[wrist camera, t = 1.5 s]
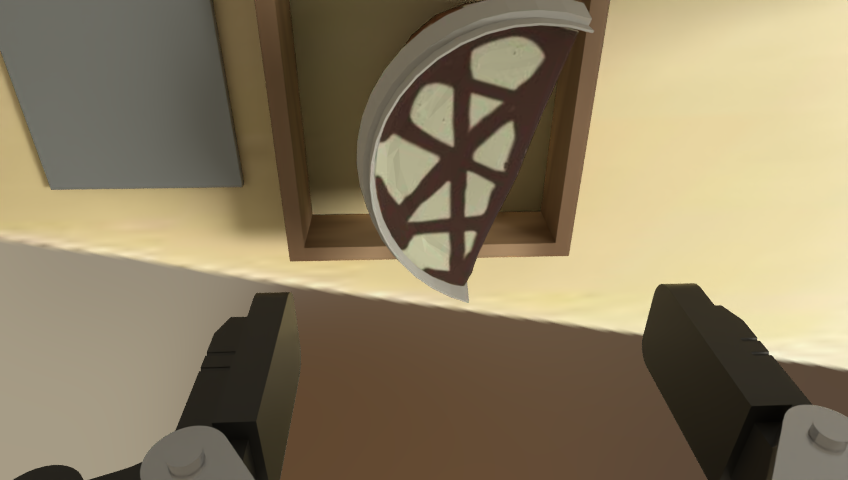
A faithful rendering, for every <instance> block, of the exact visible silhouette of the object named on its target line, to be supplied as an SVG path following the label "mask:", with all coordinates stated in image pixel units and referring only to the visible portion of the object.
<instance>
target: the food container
mask: <svg viewBox="0 0 848 480" xmlns="http://www.w3.org/2000/svg"><path fill="white" fill-rule="evenodd" d="M591 20H592V18H591V16H590V14H589V12H588V10H587V8H586V6H585V4H584V3H582V2H578V1H574V0H485V1H481V2H476V3H465V4H462V5H460V6H457V7H455V8H452V9H450V10H447V11H445V12H442V13H440V14H437V15H435V16H434V17H433V18H432V19H430V20H429V21H428V22H427V23H426V24H424V25H423V26H422V27H421V28H420V29H418V30H417V31H416V32H415V33H414V34H413V35H411V37H410V38H409V40H408V42H407V43H406V45H405V46H404V47H403V48H402V49H401V50H400V51H399V53H398V54H397V55H396V56H395V58H394V59H393V60H392V61H391V62H390V64H389V65H388V66H387V67H386V69H385V70H384V71H383V73H382V75H381V77H380V78H379V80H378V82H377V83H376V85H375V87H374V89H373V90H372V92H371V94H370V97H369V99H368V102H367V105H366V107H365V110H364V113H363V115H362V119H361V124H360V129H359V134H358V139H357V170H358V177H359V183H360V188H361V191H362V194H363V197H364V200H365V203H366V206H367V209H368V212H369V214H370V217H371V220H372V222H373V224H374V226H375V228H376V230H377V232H378V234H379V236H380V237H381V239H382V241H383V242H384V244H385V245H386V246H387V248H388V249H389V250H390V252H391V253H392V254H393V256H394V257H395V258H396V259H397V260H398V261H399V262H400V263H401V264H402V265H403V266H405V267H406V268H407V269H408V270H409V271H410V272H411V273H412V274H413V275H414V276H415V277H416V278H418V279H419V280H421V281H422V282H424V283H425V284H427V285H428V286H430V287H431V288H433V289H435V290H437V291H439V292H441V293H443V294H445V295H447V296H449V297H451V298H454V299H458V300H461V301H464V302H467V303H469V297H468V287H467V280H468V278H469V276H470V275H471V273H472V271H473V267H474V264H475V261H476V259H477V256H478V254H479V252H480V250H481V248H482V245H483V243H484V241H485V239H486V237H487V235H488V233H489V231H490V228H491V226H492V224H493V222H494V220H495V218H496V216H497V214H498V212H499V210H500V208H501V207H502V205H503V203H504V201H505V199H506V197H507V195H508V193H509V191H510V189H511V187H512V185H513V183H514V182H515V180H516V178H517V175H518V173H519V170H520V168H521V165H522V163H523V160H524V158H525V155H526V153H527V150H528V147H529V145H530V142H531V140H532V138H533V135H534V133H535V130H536V128H537V125H538V123H539V121H540V118H541V116H542V113H543V111H544V109H545V106H546V104H547V102H548V100H549V98H550V95H551V93H552V91H553V89H554V86H555V84H556V82H557V80H558V77H559V75H560V73H561V71H562V69H563V66H564V64H565V62H566V60H567V57H568V55H569V53H570V51H571V48H572V46H573V44H574V42H575V40H576V37H577V35H578V33H579V31H577V30H575V29H578V30H582V31H586V32H590V33H593V32H594V30H593V29H592V28H591V27H590V26H589V24H590V22H591Z"/></svg>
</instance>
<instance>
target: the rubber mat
mask: <svg viewBox="0 0 848 480" xmlns="http://www.w3.org/2000/svg"><path fill="white" fill-rule="evenodd" d="M0 51H1V54H2V56H3V59H4V62H5V65H6V67H7V70H8V73H9V76H10V78H11V81H12V84H13V87H14V89H15V92H16V95H17V98H18V100H19V103H20V106H21V109H22V111H23V114H24V117H25V120H26V122H27V125H28V128H29V130H30V133H31V136H32V139H33V141H34V144H35V147H36V150H37V152H38V155H39V158H40V161H41V163H42V166H43V169H44V172H45V174H46V177H47V180H48V183H49V185H50V188H51V190H64V189H135V188H206V187H243V185H244V181H243V175H242V170H241V164H240V158H239V152H238V146H237V140H236V135H235V129H234V123H233V117H232V111H231V105H230V100H229V94H228V88H227V82H226V76H225V70H224V65H223V59H222V53H221V47H220V41H219V35H218V30H217V24H216V18H215V12H214V6H213V0H0Z"/></svg>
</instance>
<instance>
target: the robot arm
mask: <svg viewBox="0 0 848 480" xmlns="http://www.w3.org/2000/svg"><path fill="white" fill-rule="evenodd" d="M642 352H643V358H644V361H645V364H646V366H647V368H648V370H649V372H650V374H651V375H652V377H653V379H654V381H655V383H656V385H657V387H658V389H659V390H660V392H661V394H662V396H663V398H664V399H665V401H666V403H667V405H668V407H669V409H670V411H671V412H672V414H673V416H674V418H675V420H676V422H677V424H678V425H679V427H680V429H681V431H682V433H683V435H684V437H685V438H686V440H687V442H688V444H689V446H690V448H691V450H692V451H693V453H694V455H695V457H696V459H697V461H698V463H699V464H700V466H701V468H702V470H703V472H704V474H705V475H706V477H707V479H708V480H848V417H846V416H844V415H842V414H840V413H838V412H836V411H833V410H831V409H827V408H824V407H820V406H815V405H812V404H811V402H810V401H809V400H808V399H807V397H806V396H805V395H804V394H803V393H802V391H800V389H799V388H798V387H797V385H796V384H795V383H794V382H793V381H792V379H791V378H790V377H789V376H788V374H787V373H786V372H785V371H784V370H783V368H782V367H781V366H780V365H779V363H778V362H777V361H776V360H775V359H774V357H773V356H772V355H769V351H768V350H767V349H766V348H765V346H764V345H763V344H762V343H761V342H760V341H757V337H756V336H755V334H754V333H753V332H752V331H751V329H750V328H749V327H748V326H747V325H746V323H745V322H744V321H743V320H742V319H740V318H739V317H737V316H736V315H734V314H733V313H732V312H730V311H729V310H727V309H726V308H724V307H723V306H721V305H719V306H715V305H714V304H713V303H712V302H711V300H710V299H709V298H708V296H707V295H706V294H705V293H704V291H703V290H702V289H701V288H700V287H699V286H698V285H697V284H695V283H690V284H661V285H659V286H658V287H657V288H656V290H655V293H654V296H653V300H652V304H651V308H650V312H649V315H648V319H647V323H646V327H645V331H644V334H643V340H642ZM300 365H301V351H300V342H299V334H298V327H297V320H296V312H295V306H294V299H293V295H292V293H291V292H281V293H256V294H255V296H254V299H253V301H252V304H251V307H250V310H249V313H248V316H247V317H231V318H229V319H228V320H227V321H226V323H224V325H222V326H221V327H220V329H219V330H217V331H216V332H215V333H214V336H213V338H212V341H211V343H210V346H209V348H208V351H207V356H205V358H204V361H203V363H202V366H201V371H199V373H198V376H197V378H196V381H195V383H194V386H193V388H192V391H191V393H190V396H189V398H188V401H187V403H186V406H185V408H184V411H183V413H182V416H181V418H180V421H179V423H178V426H177V428H176V430H175V431H174V432H172V433H170V434H168V435H167V436H165V437H163V438H162V439H161V440H159V441H158V442H157V443H156V444H155V445H154V446H153V447H152V448H151V449H150V450H149V451H148V453H147V454H146V456H145V457H144V459H143V462H141V463H139V464H137V465H134V466H132V467H129V468H126V469H123V470H120V471H117V472H114V473H110V474H107V475H103V476H100V477H97V478H93V479H90V480H280V476H281V471H282V466H283V461H284V455H285V450H286V445H287V439H288V434H289V428H290V423H291V418H292V412H293V408H294V402H295V397H296V392H297V386H298V381H299V375H300ZM14 480H83V478H82V476H81V475H80V473H79V472H78V471H77V470H75V469H74V468H71V467H68V466H63V465H51V466H44V467H41V468H37V469H34V470H32V471H29V472H27V473H25V474H23V475H21V476H19V477H17V478H15V479H14Z"/></svg>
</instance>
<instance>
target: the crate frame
mask: <svg viewBox="0 0 848 480" xmlns="http://www.w3.org/2000/svg"><path fill="white" fill-rule="evenodd" d="M574 1H578V2H582V3H584V4H585V6H586V8H587V10H588V12H589V14H590V16H591V18H592V20H591V22H590V24H589V26H590V27H591V28H592V29H593V30H594V32H593V33H590V32H586V31H582V30H578V29H575V30H577V31H579V33H578V35H577V37H576V40H575V42H574V44H573V46H572V48H571V51H570V53H569V55H568V57H567V60H566V62H565V64H564V66H563V69H562V71H561V73H560V75H559V77H558V80H557V87H556V95H555V103H554V111H553V119H552V127H551V135H550V143H549V151H548V159H547V166H546V174H545V182H544V190H543V198H542V206H541V211H531V212H498V214H497V216H496V218H495V220H494V222H493V224H492V226H491V228H490V231H489V233H488V235H487V237H486V239H485V241H484V243H483V245H482V248H481V250H480V252H479V254H478V256H477V258H484V257H535V256H569V251H570V244H571V238H572V232H573V226H574V220H575V214H576V207H577V201H578V195H579V189H580V183H581V176H582V170H583V164H584V158H585V152H586V146H587V139H588V133H589V127H590V121H591V115H592V109H593V102H594V96H595V90H596V84H597V78H598V72H599V65H600V59H601V53H602V47H603V41H604V35H605V28H606V22H607V16H608V10H609V4H610V0H574ZM255 7H256V14H257V22H258V29H259V36H260V44H261V51H262V58H263V66H264V73H265V80H266V88H267V95H268V103H269V110H270V117H271V125H272V132H273V139H274V147H275V154H276V161H277V169H278V176H279V183H280V191H281V198H282V205H283V213H284V220H285V227H286V235H287V242H288V249H289V257H290V261H331V260H382V259H396V258H395V257H394V256H393V254H392V253H391V252H390V250H389V249H388V248H387V246H386V245H385V244H384V242H383V241H382V239H381V237H380V236H379V234H378V232H377V230H376V228H375V226H374V224H373V222H372V220H371V217H370V214H346V215H312V207H311V198H310V189H309V179H308V170H307V161H306V151H305V142H304V133H303V123H302V114H301V104H300V95H299V86H298V76H297V67H296V58H295V48H294V39H293V30H292V20H291V11H290V2H289V0H255Z"/></svg>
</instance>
